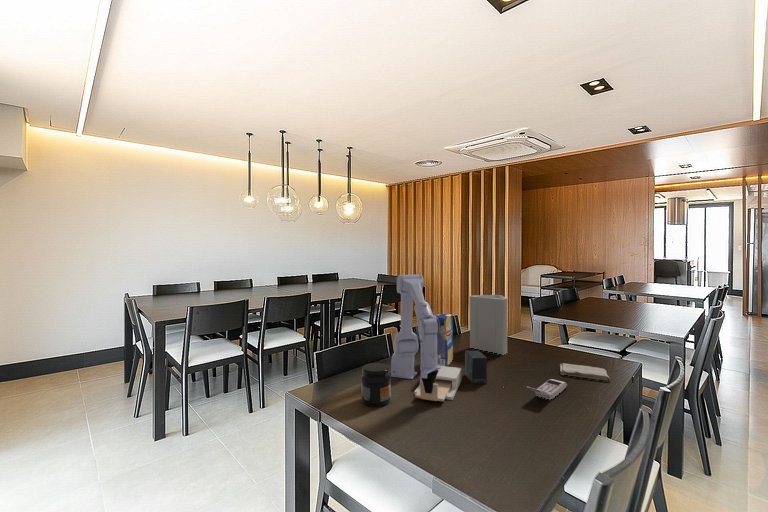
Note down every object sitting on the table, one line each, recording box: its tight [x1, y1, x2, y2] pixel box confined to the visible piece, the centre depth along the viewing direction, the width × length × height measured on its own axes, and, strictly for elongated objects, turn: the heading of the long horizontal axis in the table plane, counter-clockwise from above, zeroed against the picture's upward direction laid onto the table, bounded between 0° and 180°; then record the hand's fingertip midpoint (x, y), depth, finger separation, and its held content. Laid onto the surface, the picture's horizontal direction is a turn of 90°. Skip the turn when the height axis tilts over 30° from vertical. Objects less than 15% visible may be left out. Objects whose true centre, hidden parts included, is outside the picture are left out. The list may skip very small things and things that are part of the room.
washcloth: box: [559, 362, 611, 381], centre depth 151 cm, size 12×18×3 cm, turn 65°
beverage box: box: [434, 313, 454, 367], centre depth 167 cm, size 7×11×22 cm, turn 153°
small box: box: [464, 350, 488, 385], centre depth 146 cm, size 11×6×10 cm, turn 3°
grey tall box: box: [469, 294, 508, 356], centre depth 190 cm, size 19×15×28 cm
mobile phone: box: [526, 378, 568, 401], centre depth 130 cm, size 6×6×25 cm
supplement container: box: [360, 362, 392, 407], centre depth 126 cm, size 10×10×12 cm
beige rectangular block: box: [414, 381, 452, 402], centre depth 130 cm, size 10×16×6 cm, turn 159°
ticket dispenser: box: [413, 366, 463, 401], centre depth 138 cm, size 14×20×5 cm
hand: (429, 392), depth 123 cm, fingers closed, pressing on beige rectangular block
